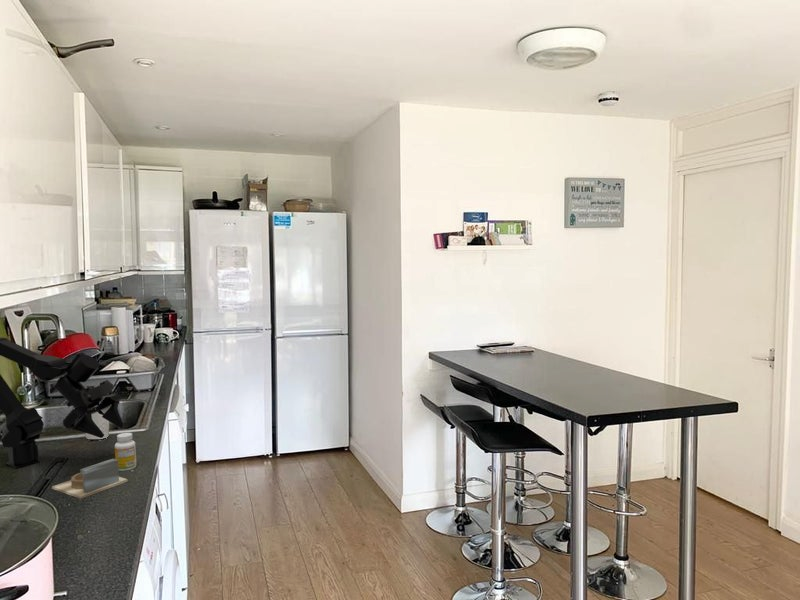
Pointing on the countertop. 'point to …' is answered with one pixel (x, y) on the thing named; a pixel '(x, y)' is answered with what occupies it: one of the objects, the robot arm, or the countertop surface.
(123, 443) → the supplement bottle
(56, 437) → the countertop surface
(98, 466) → the seat dock
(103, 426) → the white cup
